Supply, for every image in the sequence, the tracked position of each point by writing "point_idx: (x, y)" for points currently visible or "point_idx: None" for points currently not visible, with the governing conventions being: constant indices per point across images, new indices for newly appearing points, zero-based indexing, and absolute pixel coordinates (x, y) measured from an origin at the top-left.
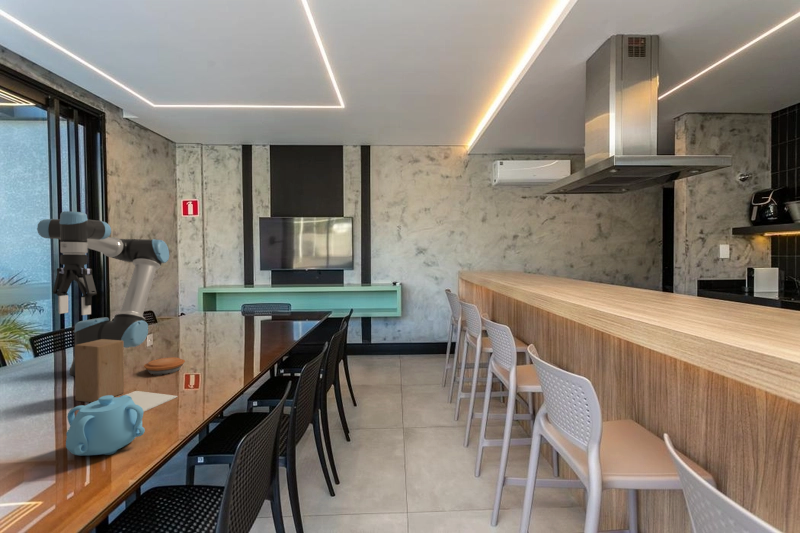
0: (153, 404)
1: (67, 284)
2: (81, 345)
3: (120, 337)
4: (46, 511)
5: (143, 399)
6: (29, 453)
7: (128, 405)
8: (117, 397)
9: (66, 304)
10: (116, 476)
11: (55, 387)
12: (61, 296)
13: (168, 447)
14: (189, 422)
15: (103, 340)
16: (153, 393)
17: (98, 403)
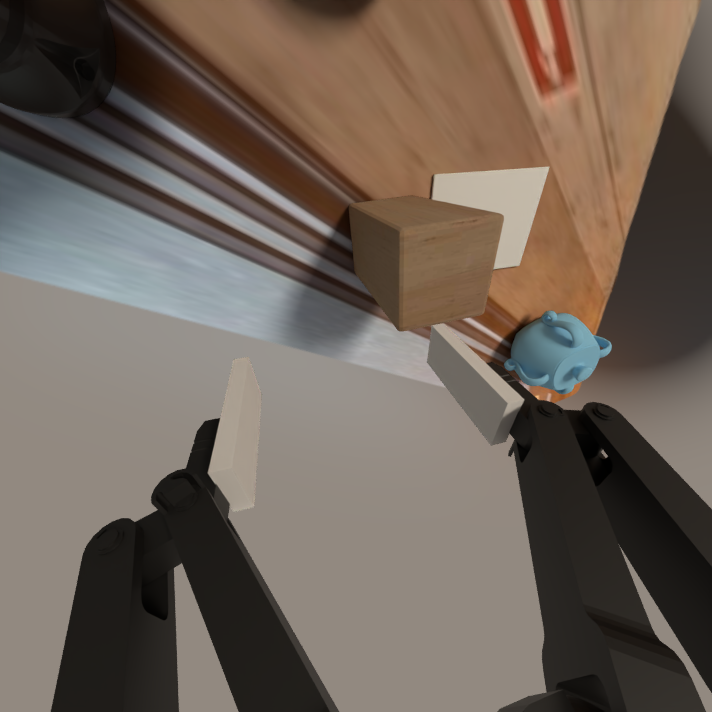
0: (523, 228)
1: (294, 638)
2: (424, 326)
3: None
4: (548, 397)
5: None
6: None
7: (601, 355)
8: (578, 351)
9: (247, 408)
10: None
11: (191, 233)
12: (250, 496)
13: (598, 314)
14: (605, 256)
15: (432, 251)
16: (488, 174)
17: (565, 371)
